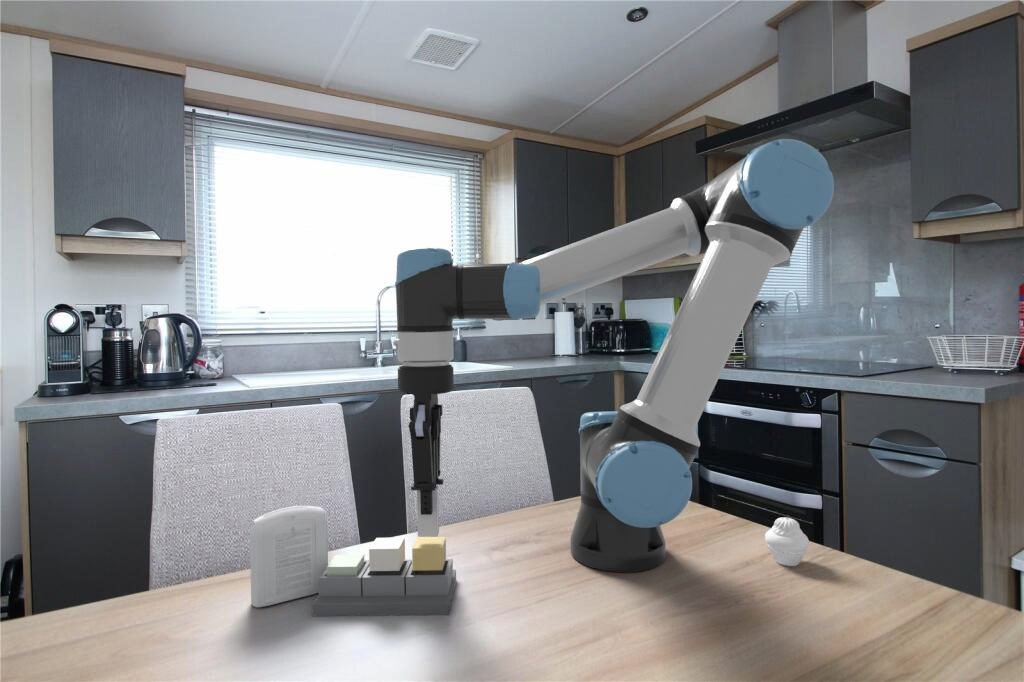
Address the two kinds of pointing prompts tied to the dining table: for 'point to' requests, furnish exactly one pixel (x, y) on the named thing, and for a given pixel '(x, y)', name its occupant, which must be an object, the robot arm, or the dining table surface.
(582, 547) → the robot arm
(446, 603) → the keypad
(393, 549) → the key ivory
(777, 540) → the muffin
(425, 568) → the key ochre
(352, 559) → the key sage
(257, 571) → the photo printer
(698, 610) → the dining table surface
